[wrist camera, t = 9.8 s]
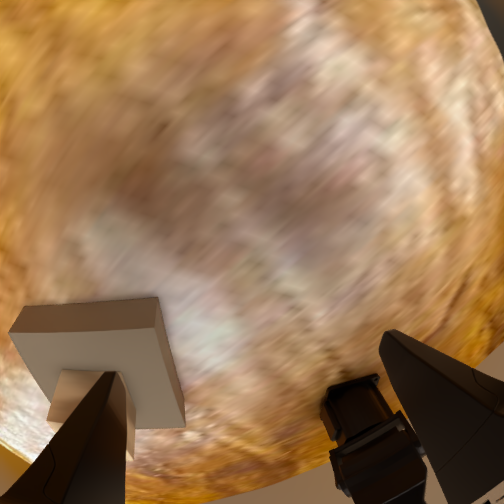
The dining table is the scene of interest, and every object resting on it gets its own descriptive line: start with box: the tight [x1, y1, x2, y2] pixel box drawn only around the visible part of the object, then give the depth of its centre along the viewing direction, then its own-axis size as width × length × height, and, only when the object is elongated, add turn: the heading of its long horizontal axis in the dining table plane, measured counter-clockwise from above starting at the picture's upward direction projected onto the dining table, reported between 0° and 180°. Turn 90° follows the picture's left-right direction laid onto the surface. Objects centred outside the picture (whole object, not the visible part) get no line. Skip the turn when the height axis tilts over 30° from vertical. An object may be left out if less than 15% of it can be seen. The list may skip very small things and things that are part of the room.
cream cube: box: [46, 370, 136, 461], centre depth 17 cm, size 5×5×5 cm
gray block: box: [8, 297, 186, 429], centre depth 21 cm, size 12×12×4 cm
